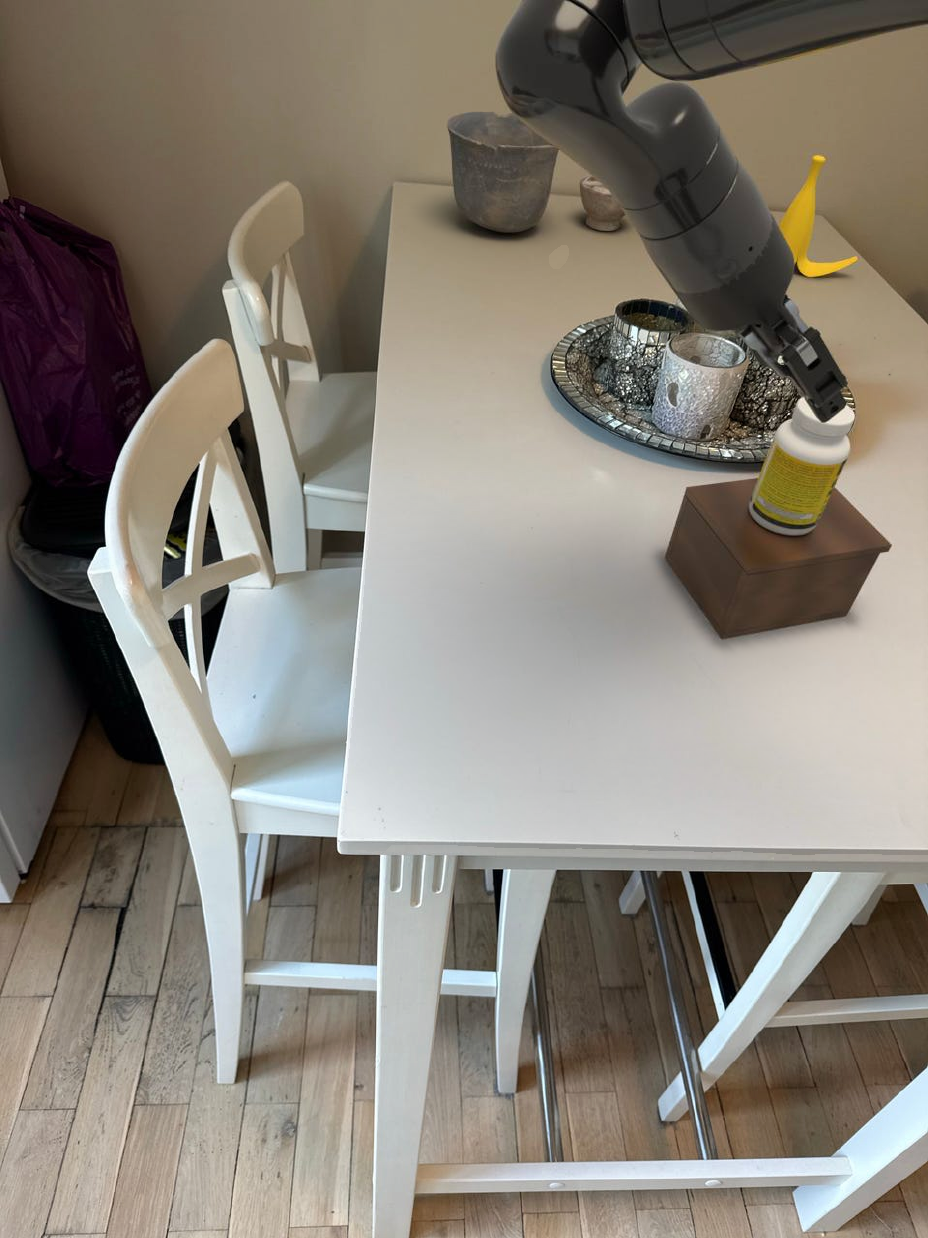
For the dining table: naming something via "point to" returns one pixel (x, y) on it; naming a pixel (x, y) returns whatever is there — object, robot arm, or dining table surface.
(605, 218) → the pottery
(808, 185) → the banana peel
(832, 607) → the chest
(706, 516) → the lid
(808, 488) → the pill bottle
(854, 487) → the dining table surface
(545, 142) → the bowl
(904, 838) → the dining table surface
